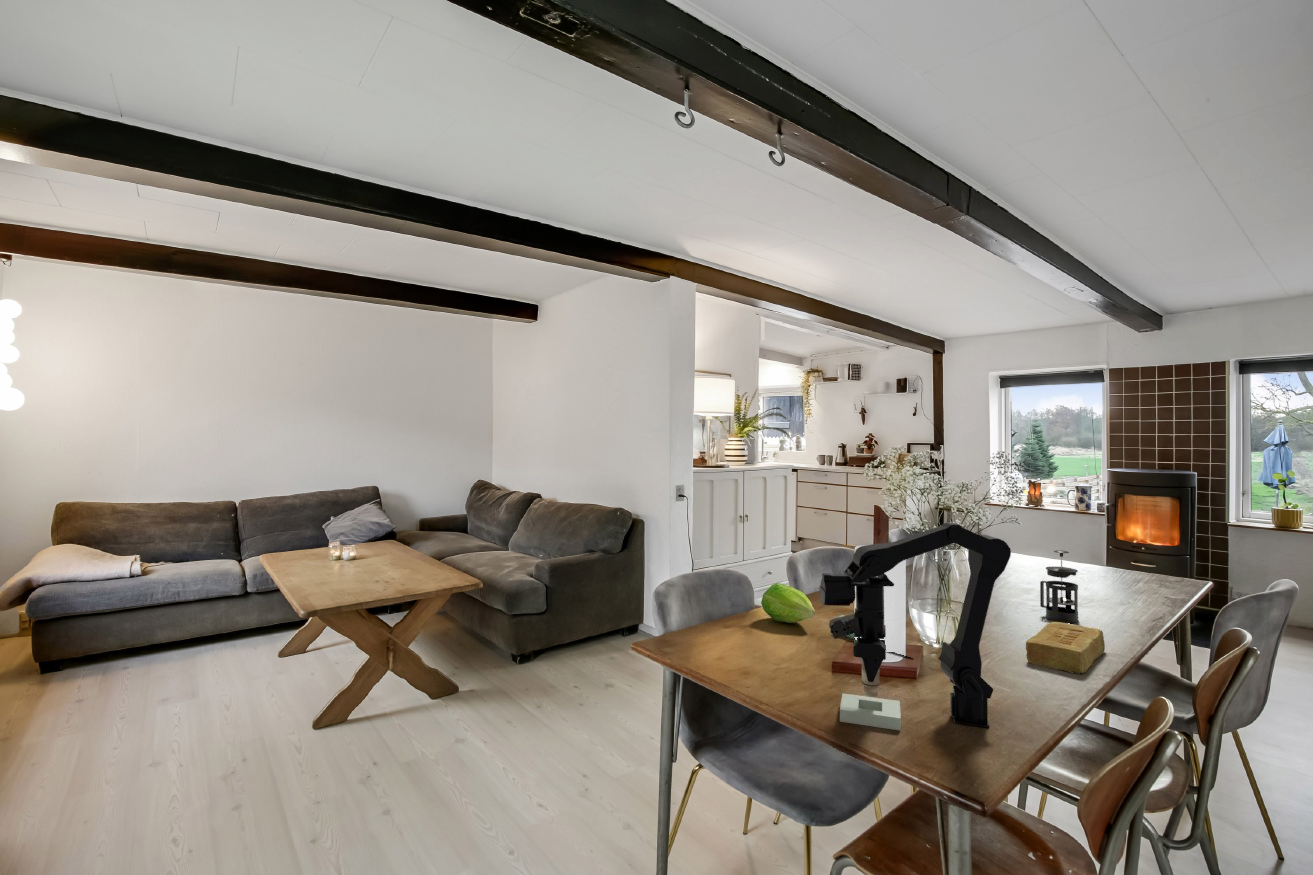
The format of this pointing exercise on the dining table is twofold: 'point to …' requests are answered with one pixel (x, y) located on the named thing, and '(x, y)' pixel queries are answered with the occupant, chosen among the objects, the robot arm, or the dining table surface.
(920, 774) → the dining table surface
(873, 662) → the robot arm
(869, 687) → the peg
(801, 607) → the lettuce
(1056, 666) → the brick
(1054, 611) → the french press
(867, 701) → the board
